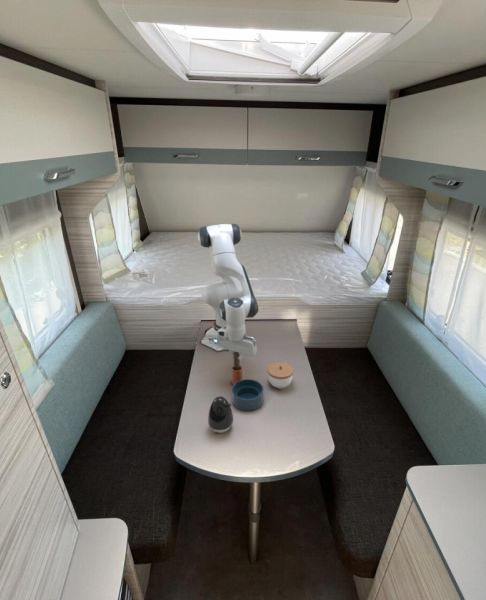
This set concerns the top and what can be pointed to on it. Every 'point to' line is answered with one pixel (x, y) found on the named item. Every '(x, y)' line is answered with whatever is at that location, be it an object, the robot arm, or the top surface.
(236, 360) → the stirring stick
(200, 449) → the top surface
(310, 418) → the top surface
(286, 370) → the lidded bowl
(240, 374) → the pot
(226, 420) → the black rounded egg shape
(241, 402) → the mixing bowl
